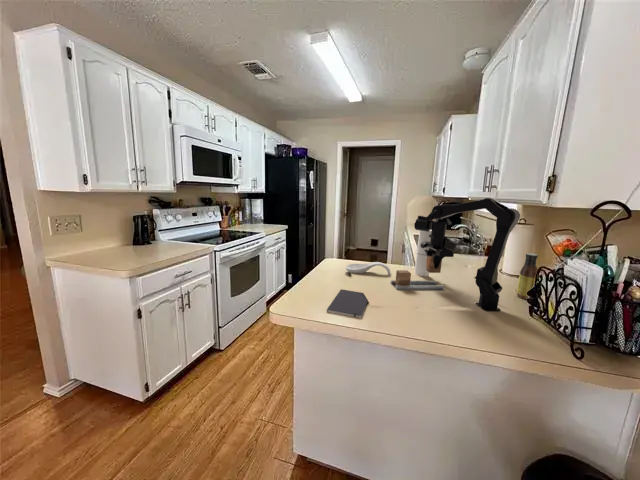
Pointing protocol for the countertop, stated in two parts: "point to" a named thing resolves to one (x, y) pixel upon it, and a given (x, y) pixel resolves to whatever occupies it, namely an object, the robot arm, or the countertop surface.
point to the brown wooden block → (432, 265)
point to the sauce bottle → (527, 276)
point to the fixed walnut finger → (402, 277)
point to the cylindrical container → (422, 254)
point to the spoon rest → (365, 267)
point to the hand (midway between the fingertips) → (433, 267)
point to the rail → (419, 286)
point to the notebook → (348, 303)
